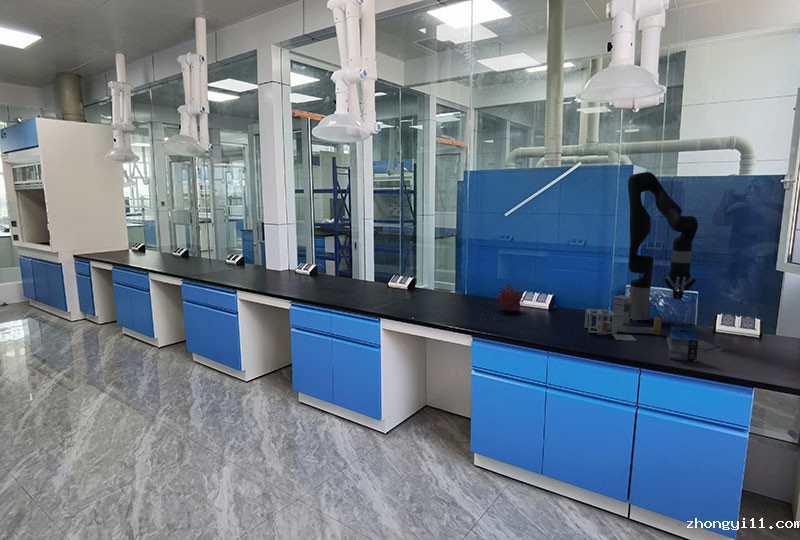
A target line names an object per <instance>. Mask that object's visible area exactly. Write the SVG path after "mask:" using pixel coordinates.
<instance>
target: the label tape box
mask: <svg viewBox="0 0 800 540" xmlns="http://www.w3.org/2000/svg"><path fill="white" fill-rule="evenodd" d="M683 330H684V331H683ZM697 330H698V329H697V328H693V327H684V326H683V327H682V326H670V332H669V336H670V342H669V347H668V354H667V355H668V359H670V360H675V361H676V360H677V361H687V362H697V358H698V351H697V349H698V340H699V339H698V336H697Z"/></svg>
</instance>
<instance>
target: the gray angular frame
mask: <svg viewBox="0 0 800 540" xmlns="http://www.w3.org/2000/svg"><path fill="white" fill-rule="evenodd" d="M593 316H594V317H596V320H595V321H596V322H595V325H594V326H592V323H593V322H592V320H593ZM615 316H616V315H615V314H614V313H613V310H611V309H595V308H585V316H584V317H585V319H584V329H585V328H588V330H587V334H589V333H597V334H596V335H606V334H617V333H618V331H617V325H616V324H615ZM604 317H607V320H608V321H610V322H611V326H612V330H611V332H603V320H604ZM611 317H612V319H611ZM597 320H601V321H600V331H597ZM611 320H612V321H611ZM591 328H593V329H591Z"/></svg>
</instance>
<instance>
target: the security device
mask: <svg viewBox="0 0 800 540" xmlns="http://www.w3.org/2000/svg"><path fill="white" fill-rule="evenodd" d="M669 342H670V335H666V345H667V348H669ZM721 348H723V347H721V346H720V345H717V344H714V343H711V342H709V341H707V340H701V339H698V349H697V350H702V351H714V350H717V349H721ZM702 351H701V352H702Z"/></svg>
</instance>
